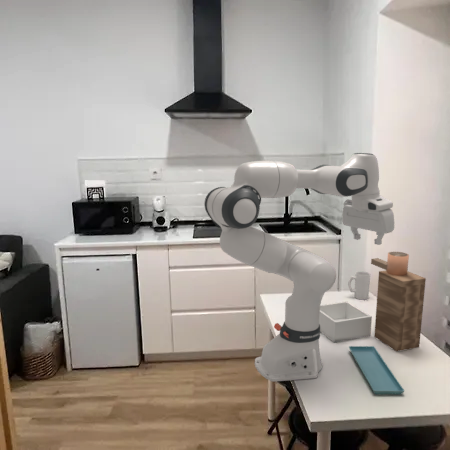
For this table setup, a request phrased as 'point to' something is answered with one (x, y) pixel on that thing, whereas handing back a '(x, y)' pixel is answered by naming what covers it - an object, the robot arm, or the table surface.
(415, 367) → the table surface
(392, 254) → the pot
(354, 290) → the mug
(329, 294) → the table surface
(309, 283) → the robot arm
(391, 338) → the wooden block
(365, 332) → the bin
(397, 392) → the teal serving tray
